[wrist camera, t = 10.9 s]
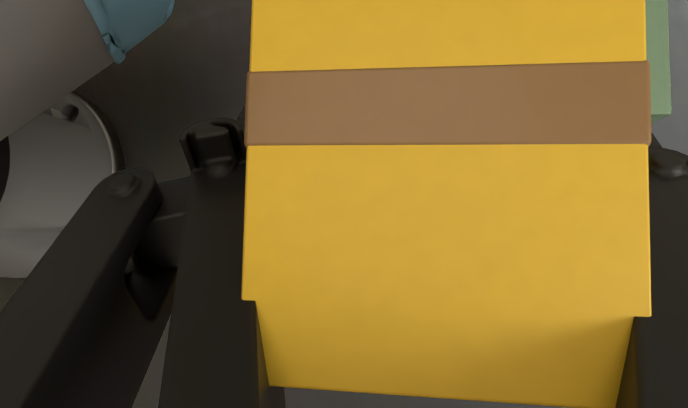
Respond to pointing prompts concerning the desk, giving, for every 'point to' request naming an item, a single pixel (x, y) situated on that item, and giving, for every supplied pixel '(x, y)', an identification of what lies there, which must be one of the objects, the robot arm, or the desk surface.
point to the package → (448, 196)
